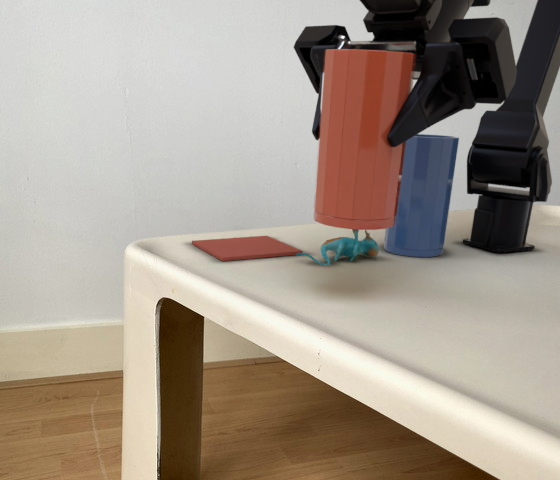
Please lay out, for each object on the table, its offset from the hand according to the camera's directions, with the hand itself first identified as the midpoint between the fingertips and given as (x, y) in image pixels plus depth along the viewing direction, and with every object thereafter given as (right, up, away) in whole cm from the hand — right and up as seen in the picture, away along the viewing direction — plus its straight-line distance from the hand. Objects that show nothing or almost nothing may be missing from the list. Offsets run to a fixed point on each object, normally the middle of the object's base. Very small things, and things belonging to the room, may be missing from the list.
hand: (351, 139), depth 50 cm
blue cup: (+10, -4, +26) cm, 28 cm away
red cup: (+1, -6, +4) cm, 7 cm away
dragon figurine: (+1, -6, +20) cm, 21 cm away
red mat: (-10, -4, +23) cm, 25 cm away
